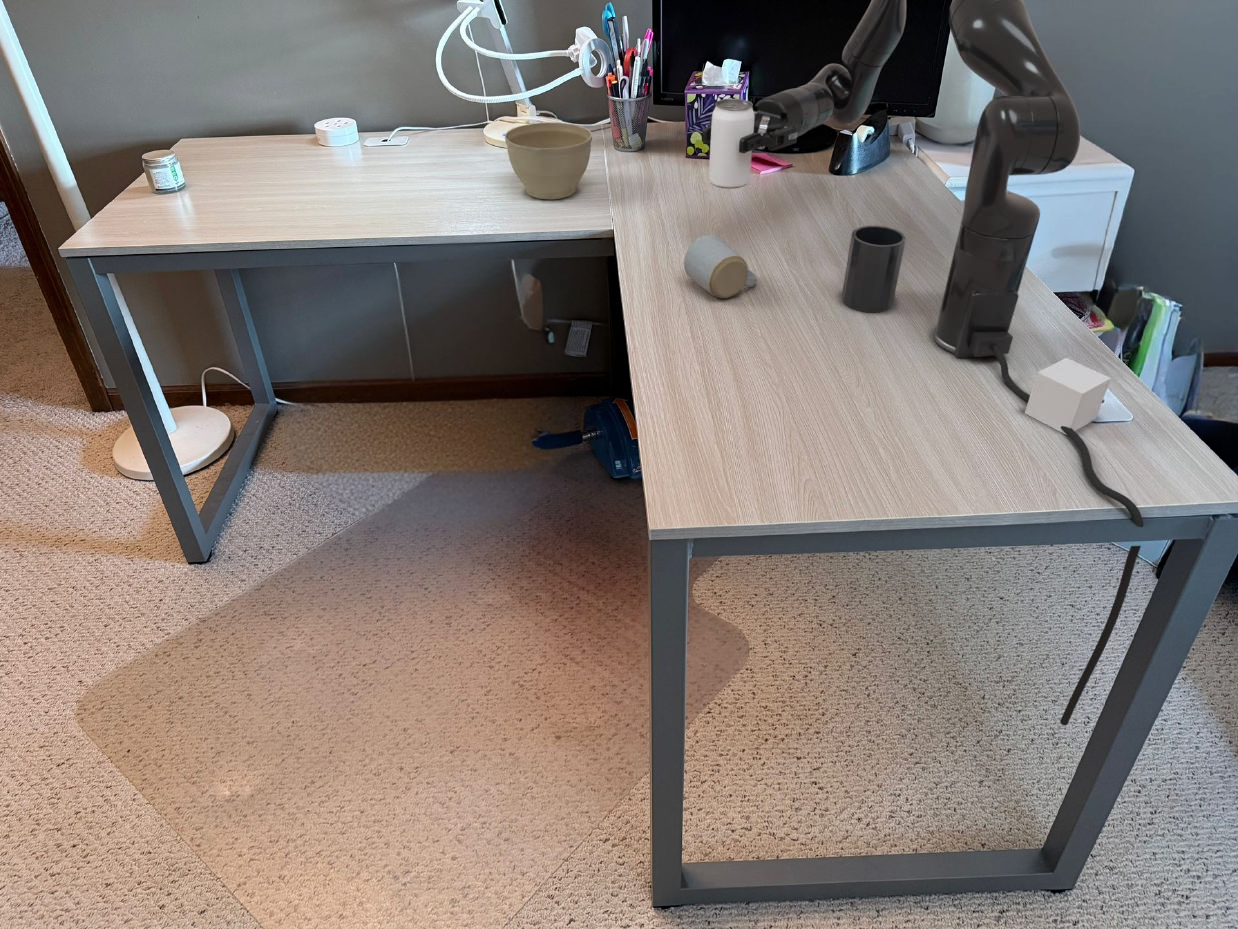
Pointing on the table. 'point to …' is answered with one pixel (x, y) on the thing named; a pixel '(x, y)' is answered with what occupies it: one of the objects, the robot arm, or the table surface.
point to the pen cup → (873, 268)
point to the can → (730, 143)
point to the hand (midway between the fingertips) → (722, 141)
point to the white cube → (1067, 395)
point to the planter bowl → (549, 157)
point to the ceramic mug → (717, 267)
